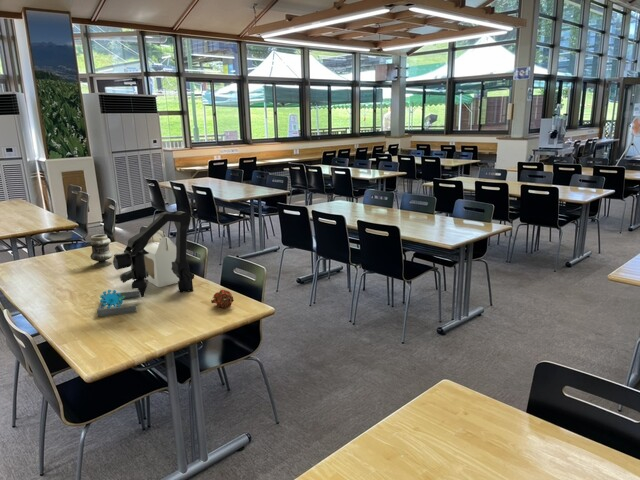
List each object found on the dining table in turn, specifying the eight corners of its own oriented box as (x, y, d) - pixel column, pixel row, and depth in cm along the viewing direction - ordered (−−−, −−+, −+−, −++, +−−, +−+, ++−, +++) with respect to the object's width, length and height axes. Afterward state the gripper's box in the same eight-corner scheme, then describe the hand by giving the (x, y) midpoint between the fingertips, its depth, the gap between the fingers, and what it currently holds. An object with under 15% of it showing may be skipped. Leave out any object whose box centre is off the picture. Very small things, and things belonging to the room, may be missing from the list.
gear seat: (139, 296, 225) (138, 290, 224) (136, 312, 205) (135, 305, 204) (104, 300, 220) (103, 294, 220) (97, 317, 201) (96, 310, 200)
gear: (103, 309, 205) (98, 290, 209) (100, 315, 208) (95, 296, 212) (128, 306, 212) (123, 287, 216) (125, 312, 216) (119, 294, 220)
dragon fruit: (230, 314, 205) (215, 311, 214) (241, 298, 209) (226, 296, 218) (218, 302, 201) (204, 299, 209) (230, 286, 205) (215, 284, 213)
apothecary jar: (107, 267, 274) (104, 237, 270) (87, 267, 275) (83, 238, 270) (116, 261, 286) (113, 233, 282) (97, 261, 286) (93, 233, 282)
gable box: (142, 277, 254) (136, 227, 247) (165, 272, 262) (161, 224, 255) (158, 287, 237) (153, 234, 231) (183, 281, 245) (178, 230, 239)
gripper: (121, 261, 220) (126, 292, 224) (117, 272, 202) (122, 306, 206) (146, 258, 223) (150, 289, 227) (144, 269, 206) (148, 302, 209)
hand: (142, 296), depth 217 cm, fingers closed
